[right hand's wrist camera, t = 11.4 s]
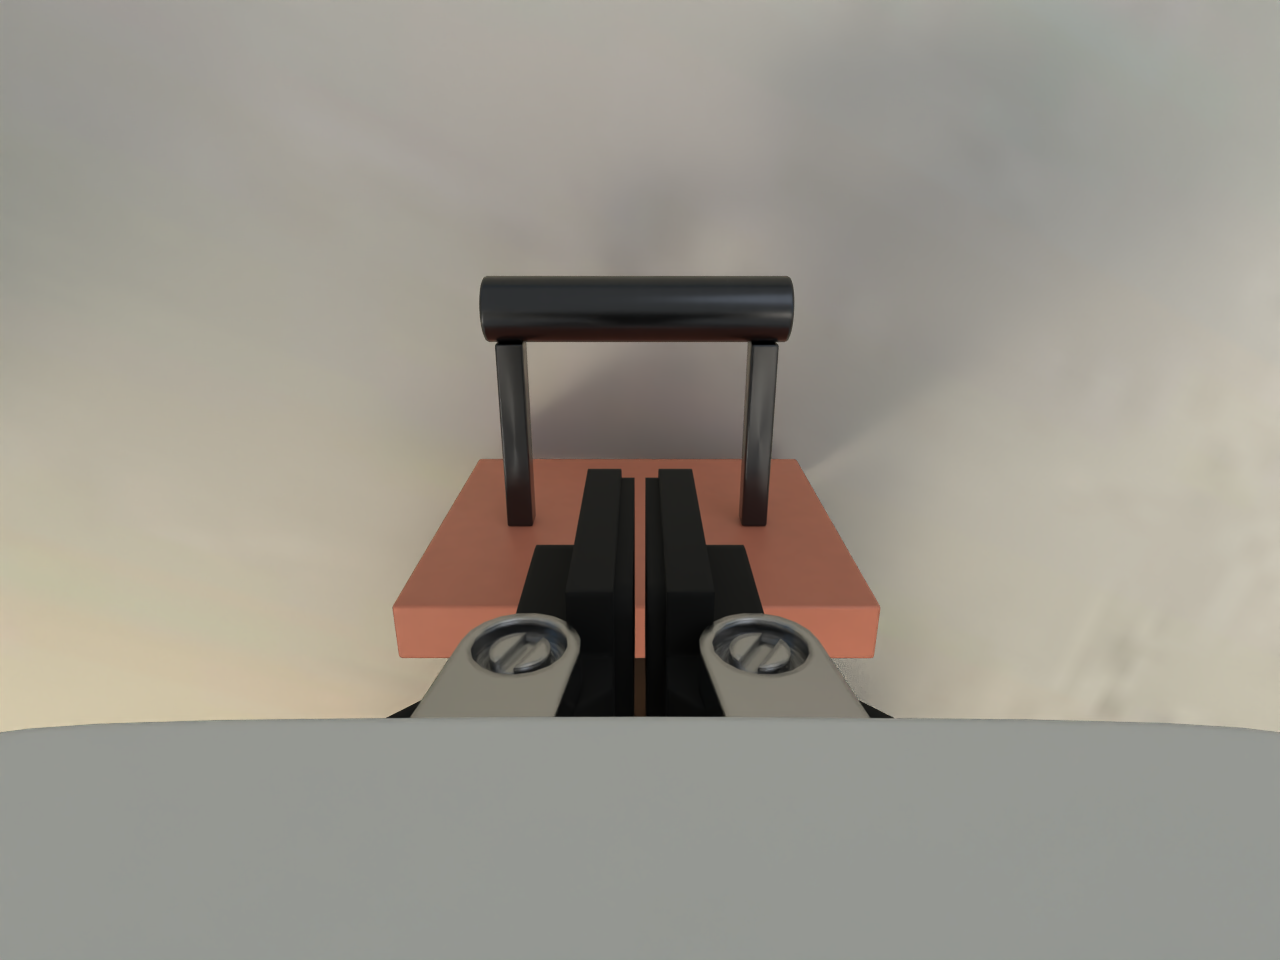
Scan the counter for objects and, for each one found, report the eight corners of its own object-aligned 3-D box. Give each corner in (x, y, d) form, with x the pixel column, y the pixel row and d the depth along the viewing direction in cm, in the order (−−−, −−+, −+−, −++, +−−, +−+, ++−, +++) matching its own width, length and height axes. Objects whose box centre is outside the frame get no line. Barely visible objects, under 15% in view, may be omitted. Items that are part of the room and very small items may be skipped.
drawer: (462, 257, 20) (348, 302, 12) (812, 257, 20) (923, 302, 12) (516, 911, 29) (470, 1180, 21) (760, 911, 29) (804, 1180, 21)
